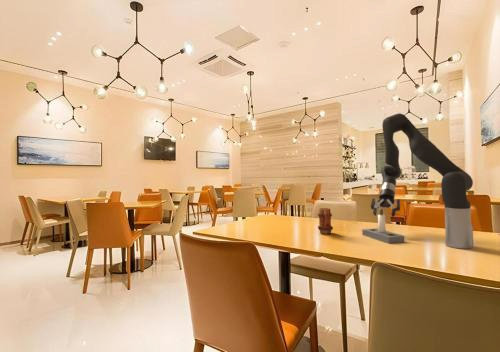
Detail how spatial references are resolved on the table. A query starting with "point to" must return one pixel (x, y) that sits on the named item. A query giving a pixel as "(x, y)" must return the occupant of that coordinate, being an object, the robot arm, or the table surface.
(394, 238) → the gray slotted tray
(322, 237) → the table surface
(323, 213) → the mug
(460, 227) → the robot arm
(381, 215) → the plug
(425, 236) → the table surface
